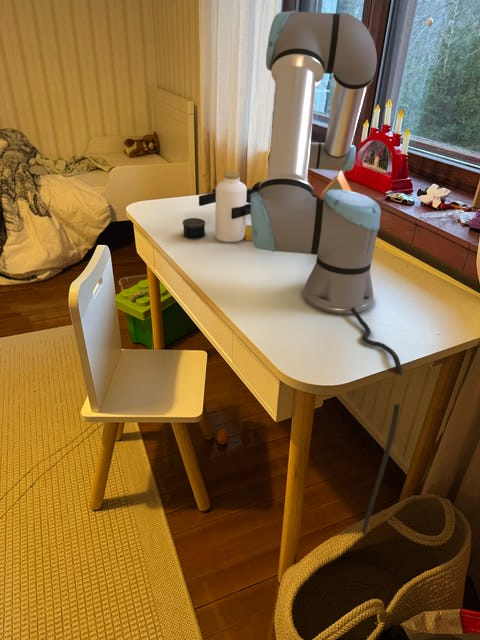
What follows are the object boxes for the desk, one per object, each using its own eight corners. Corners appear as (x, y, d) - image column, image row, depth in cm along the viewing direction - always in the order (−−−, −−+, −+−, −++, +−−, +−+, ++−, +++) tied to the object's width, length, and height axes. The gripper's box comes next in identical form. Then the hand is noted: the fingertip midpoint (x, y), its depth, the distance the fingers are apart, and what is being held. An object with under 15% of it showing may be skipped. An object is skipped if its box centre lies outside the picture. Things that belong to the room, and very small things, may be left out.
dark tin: (205, 239, 134) (205, 225, 132) (182, 239, 133) (182, 225, 131) (205, 231, 139) (205, 217, 137) (183, 230, 139) (182, 217, 137)
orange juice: (312, 250, 130) (321, 176, 119) (317, 238, 137) (326, 167, 126) (340, 254, 128) (352, 179, 117) (344, 242, 135) (356, 171, 125)
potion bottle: (235, 246, 130) (237, 180, 121) (209, 239, 134) (209, 174, 124) (249, 236, 137) (253, 173, 127) (225, 230, 140) (226, 168, 131)
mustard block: (266, 240, 135) (266, 235, 134) (245, 240, 134) (245, 235, 134) (263, 230, 142) (263, 225, 141) (243, 229, 141) (243, 225, 140)
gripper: (299, 216, 138) (247, 233, 125) (239, 195, 153) (187, 208, 140) (301, 190, 134) (248, 205, 121) (240, 171, 149) (186, 183, 136)
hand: (215, 207), depth 130 cm, fingers open, 13 cm apart
